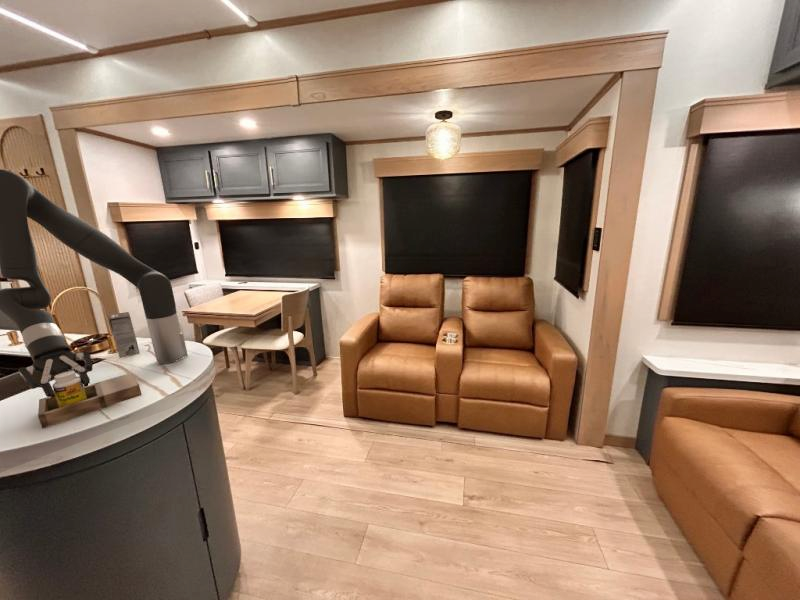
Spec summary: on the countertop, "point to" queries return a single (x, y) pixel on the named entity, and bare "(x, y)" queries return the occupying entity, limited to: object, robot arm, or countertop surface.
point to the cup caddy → (90, 400)
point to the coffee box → (123, 334)
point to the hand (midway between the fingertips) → (70, 390)
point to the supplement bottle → (68, 389)
